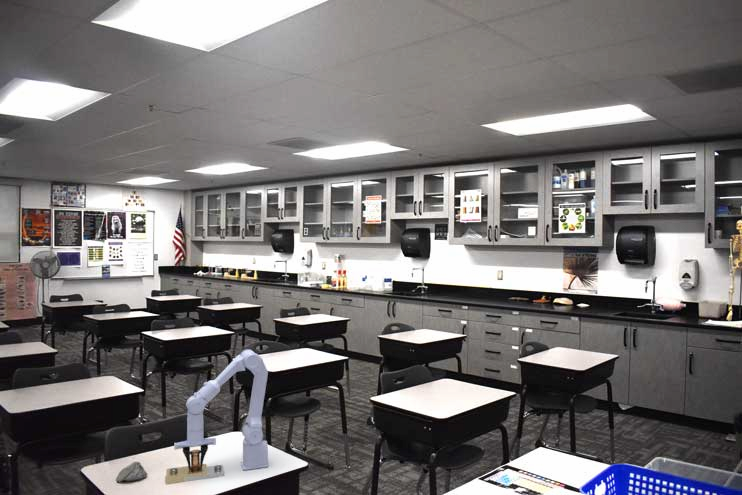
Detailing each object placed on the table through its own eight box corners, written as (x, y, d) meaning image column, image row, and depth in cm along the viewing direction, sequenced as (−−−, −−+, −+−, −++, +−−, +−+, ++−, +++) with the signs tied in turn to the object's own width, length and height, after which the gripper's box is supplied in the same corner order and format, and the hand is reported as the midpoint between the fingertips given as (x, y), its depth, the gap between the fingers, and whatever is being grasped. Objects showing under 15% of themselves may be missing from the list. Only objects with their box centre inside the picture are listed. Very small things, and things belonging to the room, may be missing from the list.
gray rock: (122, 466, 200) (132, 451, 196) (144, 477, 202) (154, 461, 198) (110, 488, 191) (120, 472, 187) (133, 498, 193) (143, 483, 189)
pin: (200, 467, 198) (200, 449, 198) (201, 471, 195) (200, 453, 194) (190, 468, 197) (189, 450, 197) (190, 473, 194) (189, 454, 193)
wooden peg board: (222, 467, 203) (222, 458, 203) (224, 475, 195) (224, 466, 195) (166, 475, 196) (166, 466, 196) (166, 484, 188) (166, 474, 188)
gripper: (215, 423, 202) (215, 459, 202) (174, 428, 197) (174, 465, 197) (216, 429, 195) (216, 466, 195) (174, 434, 190) (174, 472, 190)
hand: (195, 466), depth 195 cm, fingers closed on pin, 3 cm apart
